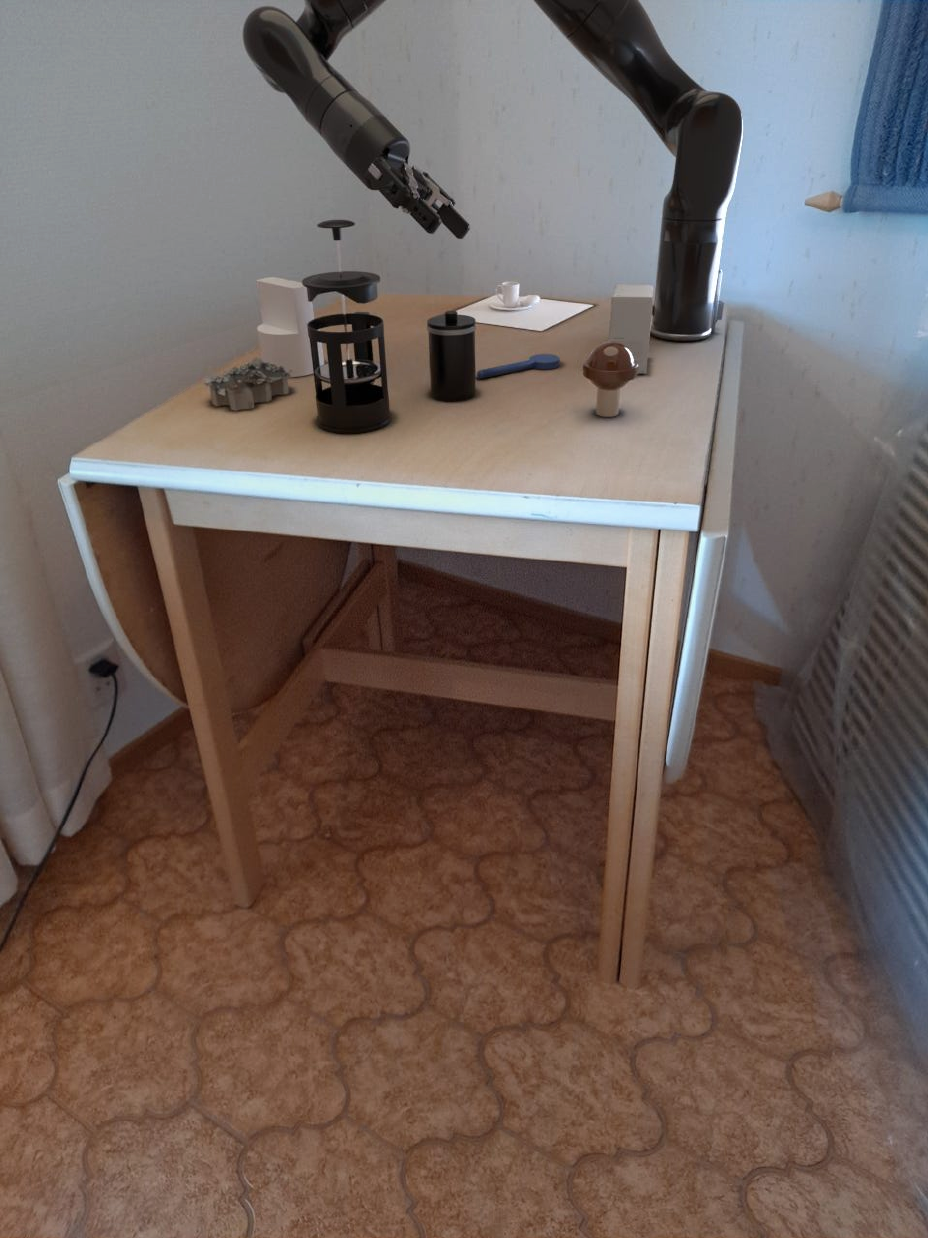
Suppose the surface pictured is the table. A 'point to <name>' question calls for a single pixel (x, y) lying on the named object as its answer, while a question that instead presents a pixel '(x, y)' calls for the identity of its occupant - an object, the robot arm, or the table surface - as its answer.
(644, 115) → the robot arm
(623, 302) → the small box
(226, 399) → the egg carton
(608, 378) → the mushroom
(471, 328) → the pot
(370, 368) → the french press
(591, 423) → the table surface
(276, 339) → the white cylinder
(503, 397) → the table surface
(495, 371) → the round blue paddle
